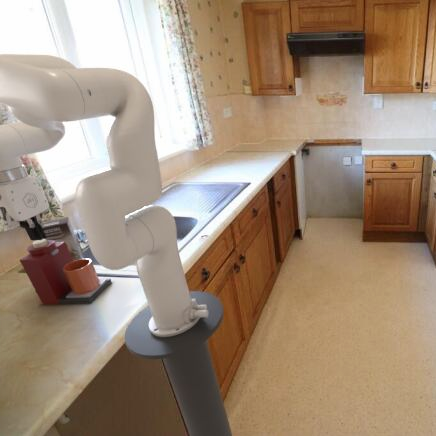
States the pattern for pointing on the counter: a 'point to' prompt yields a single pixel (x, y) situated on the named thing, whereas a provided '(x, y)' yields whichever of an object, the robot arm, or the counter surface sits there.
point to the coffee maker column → (48, 270)
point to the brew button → (40, 243)
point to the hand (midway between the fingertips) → (38, 238)
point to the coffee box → (63, 235)
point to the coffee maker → (83, 298)
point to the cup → (81, 276)
